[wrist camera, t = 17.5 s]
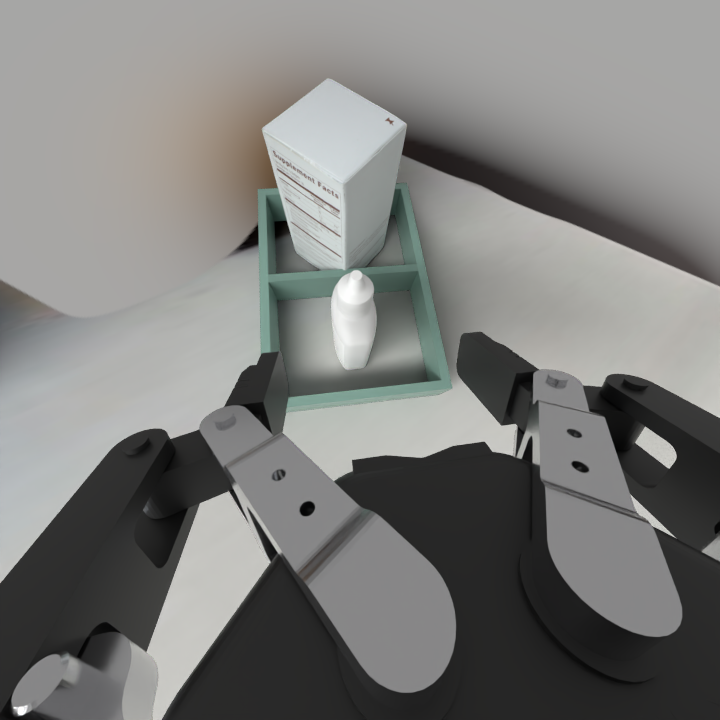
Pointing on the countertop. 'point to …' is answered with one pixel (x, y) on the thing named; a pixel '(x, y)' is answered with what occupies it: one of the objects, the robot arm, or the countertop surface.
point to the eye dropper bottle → (353, 319)
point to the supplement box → (336, 174)
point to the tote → (323, 286)
